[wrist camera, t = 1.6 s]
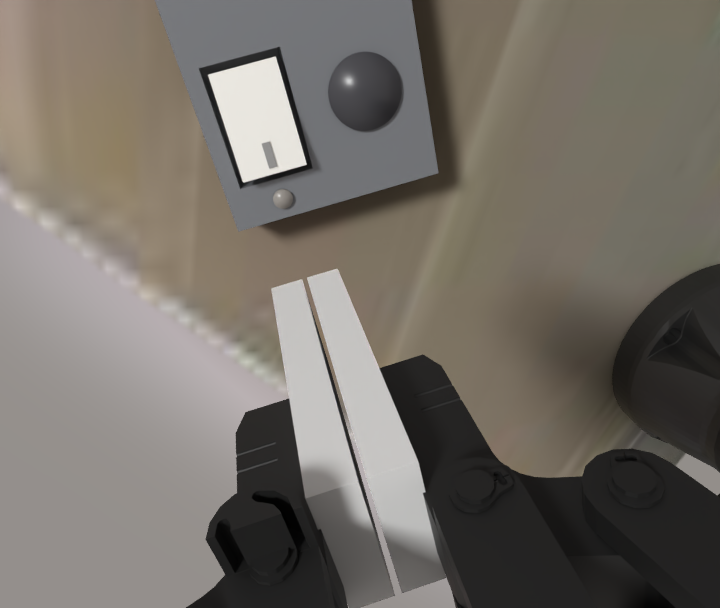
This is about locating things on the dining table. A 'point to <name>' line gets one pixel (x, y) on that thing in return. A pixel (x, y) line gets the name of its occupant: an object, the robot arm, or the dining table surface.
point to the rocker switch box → (312, 95)
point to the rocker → (258, 119)
